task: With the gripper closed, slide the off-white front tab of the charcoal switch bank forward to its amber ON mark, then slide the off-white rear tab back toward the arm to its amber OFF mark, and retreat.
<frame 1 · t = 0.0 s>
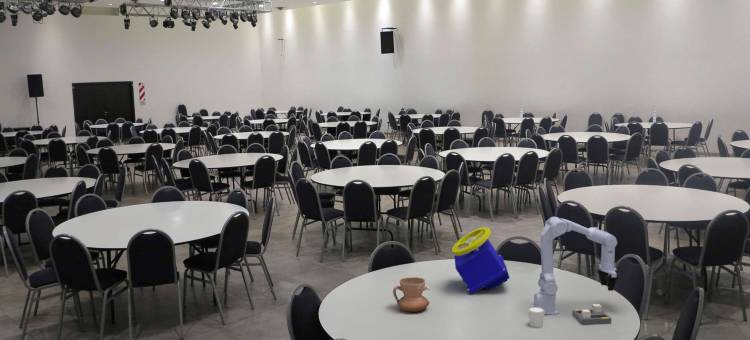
hand: (607, 287, 285), 10 cm above the table, fingers open, 7 cm apart
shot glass: (536, 325, 270), on the table
rear tab: (596, 309, 277), point 3 cm above the table, slide at 0.0 cm
blue valve with handwheel: (480, 290, 318), on the table
front tab: (586, 315, 271), point 3 cm above the table, slide at 0.0 cm
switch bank: (591, 319, 274), on the table
ceramic jug: (411, 309, 293), on the table
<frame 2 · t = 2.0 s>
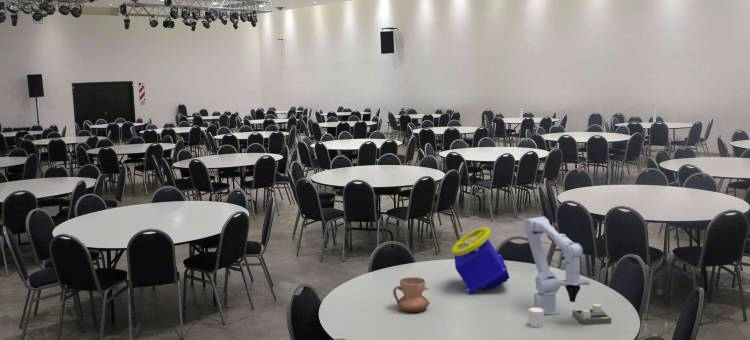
hand: (572, 301, 270), 10 cm above the table, fingers closed
nothing on the table moved.
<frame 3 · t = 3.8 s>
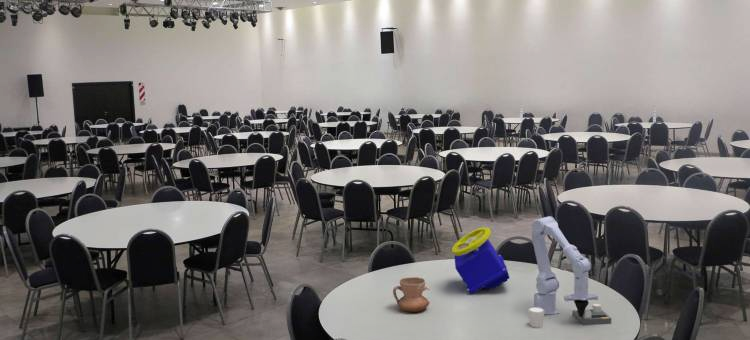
hand: (580, 315, 271), 3 cm above the table, fingers closed
front tab: (586, 315, 271), point 3 cm above the table, slide at 0.4 cm, touching gripper
everything else where it was.
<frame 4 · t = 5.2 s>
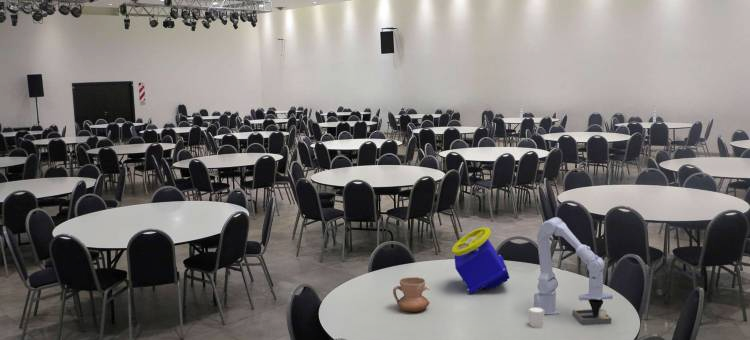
hand: (595, 315, 271), 3 cm above the table, fingers closed
front tab: (601, 314, 271), point 3 cm above the table, slide at 6.9 cm, touching gripper
everything else where it was.
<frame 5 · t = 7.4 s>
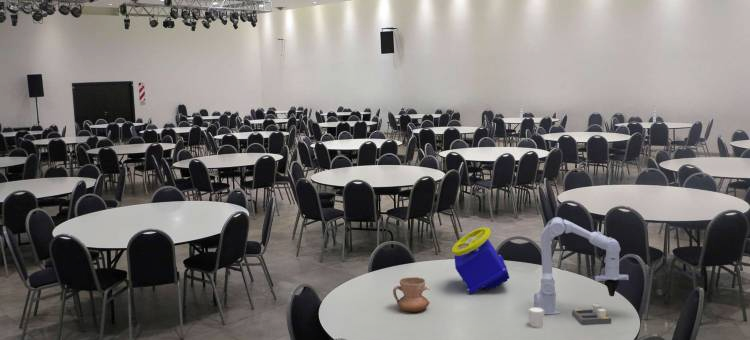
hand: (611, 295, 276), 9 cm above the table, fingers closed
front tab: (601, 314, 271), point 3 cm above the table, slide at 7.0 cm
everything else where it was.
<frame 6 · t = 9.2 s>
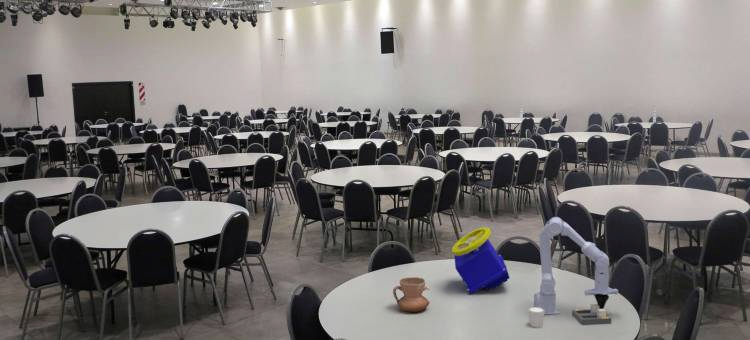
hand: (600, 309, 277), 3 cm above the table, fingers closed
rear tab: (594, 309, 277), point 3 cm above the table, slide at 1.0 cm, touching gripper
everything else where it was.
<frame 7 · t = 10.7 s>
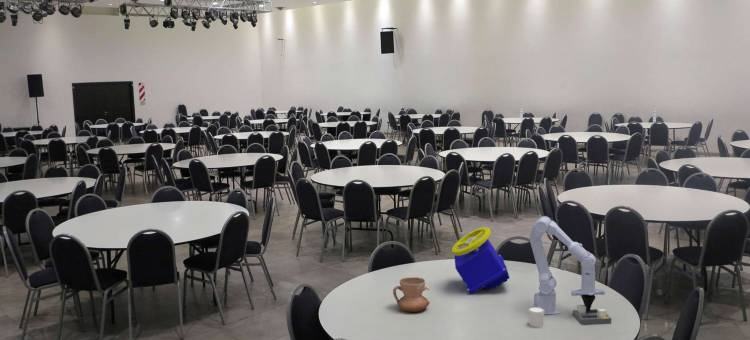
hand: (587, 310, 277), 3 cm above the table, fingers closed
rear tab: (581, 310, 277), point 3 cm above the table, slide at 7.1 cm, touching gripper
everything else where it was.
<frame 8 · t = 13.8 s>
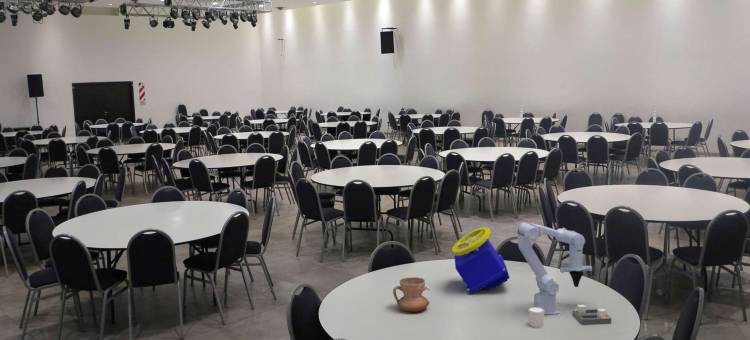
hand: (575, 286, 287), 10 cm above the table, fingers closed
rear tab: (581, 310, 277), point 3 cm above the table, slide at 7.1 cm
everything else where it was.
at the end: front tab slide at 7.0 cm; rear tab slide at 7.1 cm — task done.
